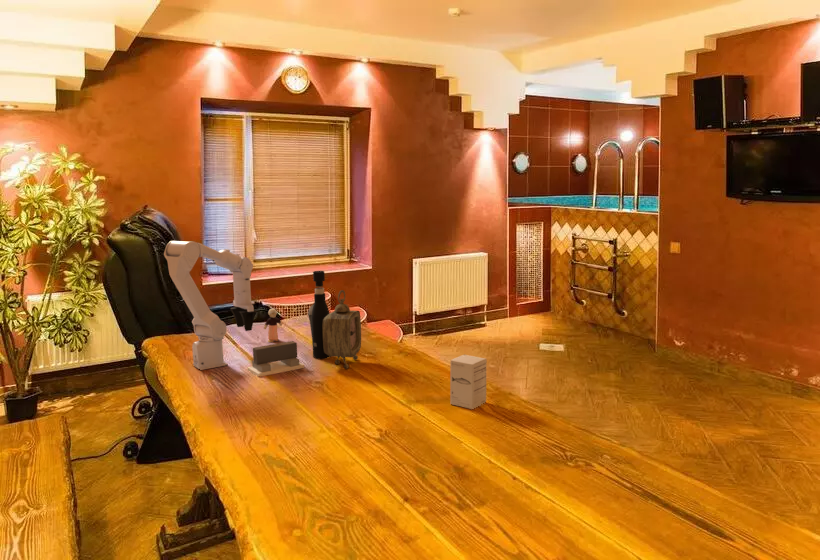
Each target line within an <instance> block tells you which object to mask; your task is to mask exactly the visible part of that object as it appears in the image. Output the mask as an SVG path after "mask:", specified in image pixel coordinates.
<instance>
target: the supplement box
mask: <svg viewBox="0 0 820 560" xmlns="http://www.w3.org/2000/svg"><path fill="white" fill-rule="evenodd" d="M487 360H488V359H487V358H483V357H479V356H474V355H470V354H469V355H468V354H462V355H459V356H457V357H455V358H452V359H450V392H449V393H450V394H449V395H450V397H449V398H450V400H449V401H450V405H451V404H452V405H453V406H457V407H461V408H465V409H469V410H472V409H473V410H474V408H475V409H477V408H479V407H481V406H482V405H484V404H486V403H487ZM485 402H486V403H485ZM483 403H484V404H483ZM481 404H482V405H481ZM478 406H479V407H478ZM476 407H477V408H476Z"/></svg>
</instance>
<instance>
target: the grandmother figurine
mask: <svg viewBox="0 0 820 560" xmlns="http://www.w3.org/2000/svg"><path fill="white" fill-rule="evenodd" d="M267 314H268V315H269V318H267V320H266V322H265V323H264V327H263V329H264V330H267V327H268V334H267V336H268V340H267V343H274V342H279V341H280V339H279V334H278V325H279V327H281V326H283V323H282V320H281V319H280V318H279V317H276V316H277V314H278V311H277V309H275V308H270V309H269V310H268V312H267ZM278 340H279V341H278Z"/></svg>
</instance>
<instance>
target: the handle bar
mask: <svg viewBox="0 0 820 560" xmlns="http://www.w3.org/2000/svg"><path fill="white" fill-rule="evenodd" d="M252 357H253V360H252V361H254V363H255V364H256V365H260V364H265V363H273V362H279V361H281V360H286V359H292V358H298V343H297V342H296V341H293V340H291V341H285V342H279V343H274V344H268V345H261V346H257V347H256V346H255V347H252Z"/></svg>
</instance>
